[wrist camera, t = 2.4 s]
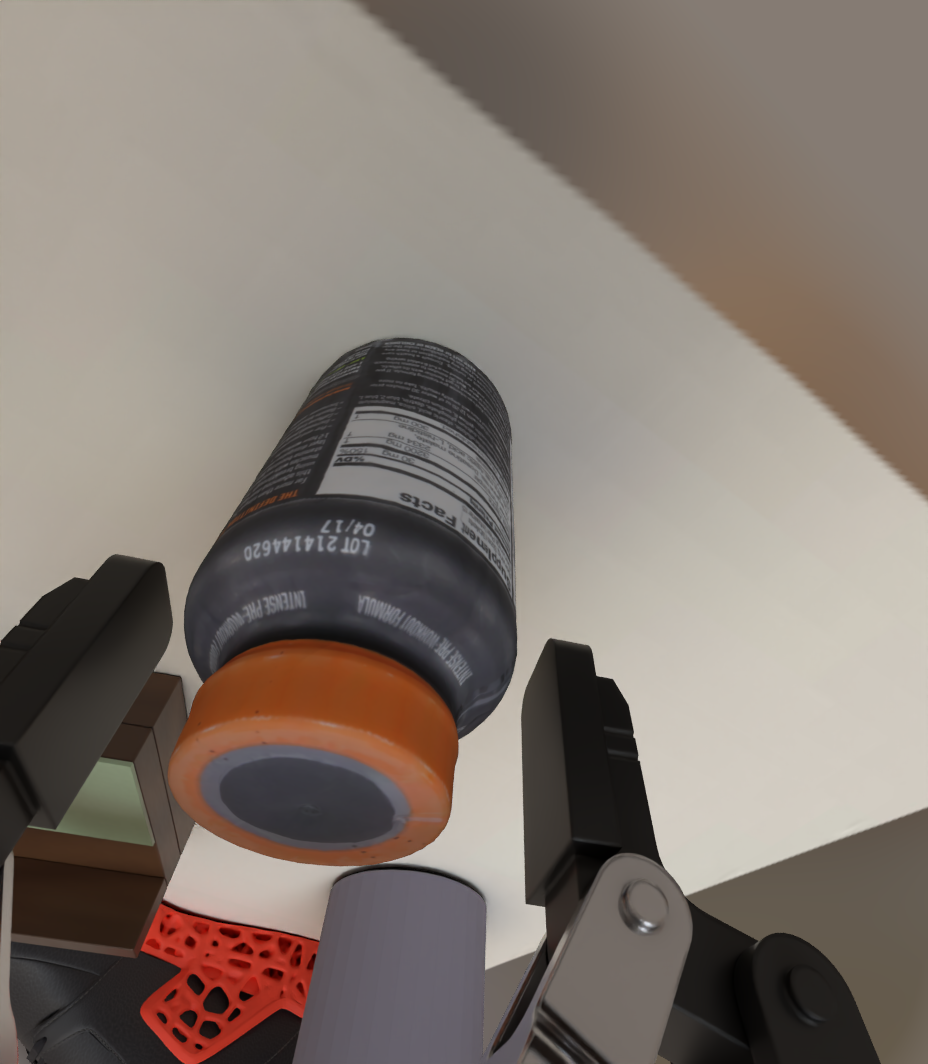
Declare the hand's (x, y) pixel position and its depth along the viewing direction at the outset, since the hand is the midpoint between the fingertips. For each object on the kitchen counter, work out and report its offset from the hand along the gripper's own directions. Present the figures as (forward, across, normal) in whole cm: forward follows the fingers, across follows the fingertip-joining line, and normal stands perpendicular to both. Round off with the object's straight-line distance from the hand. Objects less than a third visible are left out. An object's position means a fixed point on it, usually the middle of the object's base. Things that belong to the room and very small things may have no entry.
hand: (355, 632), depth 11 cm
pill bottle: (+8, 0, 0) cm, 8 cm away
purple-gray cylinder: (+8, -5, +34) cm, 35 cm away
